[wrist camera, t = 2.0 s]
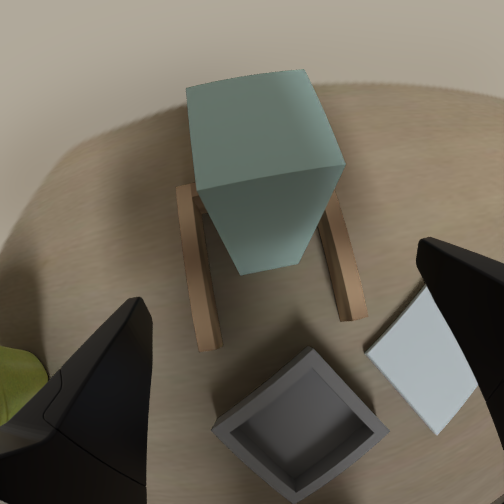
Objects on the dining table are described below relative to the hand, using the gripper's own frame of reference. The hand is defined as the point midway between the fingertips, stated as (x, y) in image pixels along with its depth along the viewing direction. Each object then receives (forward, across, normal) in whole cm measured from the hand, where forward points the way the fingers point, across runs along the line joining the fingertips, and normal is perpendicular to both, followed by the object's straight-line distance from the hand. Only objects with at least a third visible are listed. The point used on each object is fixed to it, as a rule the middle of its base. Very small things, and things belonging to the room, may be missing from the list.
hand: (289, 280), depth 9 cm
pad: (+3, -12, +12) cm, 18 cm away
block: (+11, 0, +5) cm, 12 cm away
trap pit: (+2, 0, +14) cm, 14 cm away
